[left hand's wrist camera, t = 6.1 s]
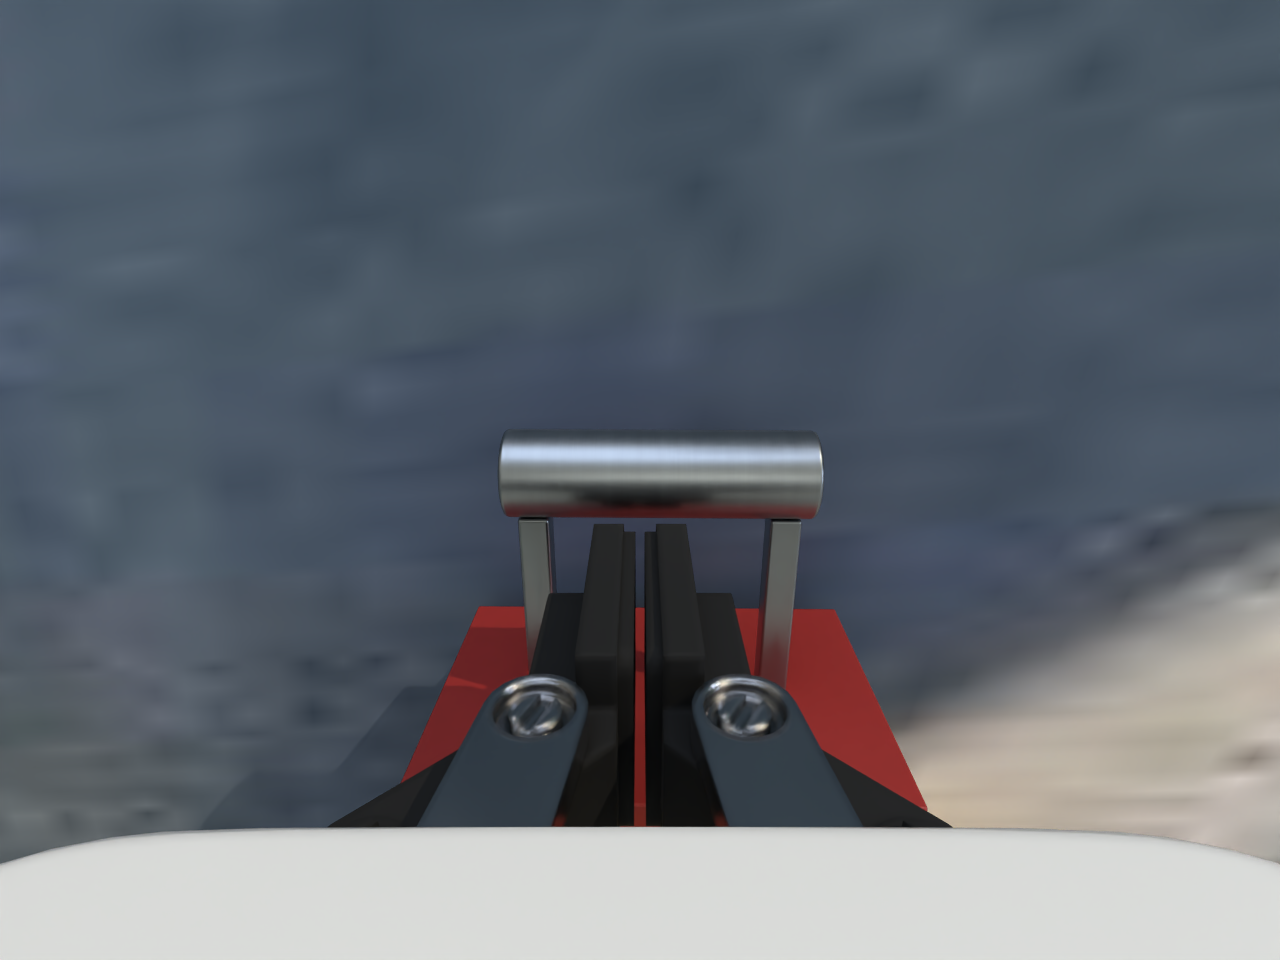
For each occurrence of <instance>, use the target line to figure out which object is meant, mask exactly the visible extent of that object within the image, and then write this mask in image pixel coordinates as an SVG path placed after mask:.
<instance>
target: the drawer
mask: <svg viewBox="0 0 1280 960" xmlns="http://www.w3.org/2000/svg"><path fill="white" fill-rule="evenodd" d="M823 487H824V461H823V452H822V447H821V443H820V440H819V437H818V435H817V434H816V433H815V432H813V431H783V430H581V429H509V430H507V431H505V433H504V435H503V437H502V440H501V444H500V449H499V457H498V490H499V498H500V503H501V506H502V509H503V512H504V514H505V515H506V516H509V517H520V518H519V520H518V528H519V542H520V557H521V571H522V585H523V599H524V607H500V606H480V607H479V608H478V610H477V612H476V614H475V617H474V619H473V621H472V623H471V626H470V628H469V630H468V632H467V635H466V637H465V639H464V641H463V644H462V646H461V648H460V651H459V653H458V655H457V657H456V660H455V662H454V664H453V666H452V669H451V671H450V673H449V675H448V678H447V680H446V682H445V684H444V687H443V689H442V691H441V693H440V696H439V698H438V700H437V702H436V705H435V707H434V709H433V711H432V714H431V716H430V718H429V720H428V723H427V725H426V727H425V729H424V732H423V734H422V736H421V738H420V741H419V743H418V745H417V748H416V750H415V752H414V754H413V757H412V759H411V761H410V763H409V766H408V768H407V770H406V772H405V775H404V777H403V779H402V781H401V783H402V782H404V781H405V780H407V779H409V778H410V777H412V776H414V775H416V774H417V773H419V772H421V771H422V770H424V769H426V768H427V767H429V766H431V765H432V764H434V763H436V762H438V761H439V760H441V759H443V758H444V757H446V756H448V755H449V754H451V753H453V752H454V751H456V750H458V749H459V747H460V746H461V744H462V742H463V740H464V738H465V736H466V735H467V733H468V731H469V729H470V727H471V725H472V723H473V722H474V720H475V718H476V716H477V714H478V712H479V710H480V709H481V707H482V705H483V703H484V701H485V700H486V699H487V698H488V696H489V695H490V694H491V693H492V691H494V690H495V689H497V688H498V687H499V686H501V685H502V684H504V683H506V682H508V681H510V680H513V679H515V678H517V677H521V676H526V675H529V672H530V668H531V664H532V660H533V656H534V651H535V647H536V643H537V639H538V635H539V631H540V626H541V622H542V618H543V614H544V610H545V606H546V601H547V598H548V595H549V594H550V593H557V589H556V569H555V549H554V529H553V517H601V518H748V519H765V532H764V546H763V559H762V573H761V586H760V600H759V609H735V610H736V614H737V618H738V622H739V626H740V631H741V635H742V639H743V643H744V647H745V651H746V656H747V660H748V664H749V668H750V672H751V675H754V676H759V677H763V678H765V679H767V680H770V681H772V682H774V683H776V684H778V685H779V686H781V687H782V688H783V689H785V690H786V691H788V693H789V694H790V695H791V696H792V698H793V699H794V700H795V701H796V703H797V705H798V707H799V709H800V710H801V712H802V714H803V716H804V718H805V720H806V722H807V723H808V725H809V727H810V729H811V731H812V733H813V735H814V736H815V738H816V740H817V742H818V744H819V746H820V747H821V749H822V750H824V751H826V752H827V753H829V754H831V755H832V756H834V757H836V758H837V759H839V760H841V761H842V762H844V763H846V764H848V765H849V766H851V767H853V768H854V769H856V770H858V771H859V772H861V773H863V774H864V775H866V776H868V777H870V778H871V779H873V780H875V781H876V782H878V783H880V784H881V785H883V786H885V787H886V788H888V789H890V790H892V791H893V792H895V793H897V794H898V795H900V796H902V797H903V798H905V799H907V800H908V801H910V802H912V803H914V804H915V805H917V806H919V807H920V808H922V809H924V810H925V811H927V806H926V804H925V802H924V800H923V797H922V795H921V793H920V791H919V789H918V787H917V785H916V783H915V780H914V778H913V776H912V774H911V772H910V770H909V768H908V765H907V763H906V761H905V759H904V757H903V755H902V753H901V751H900V748H899V746H898V744H897V742H896V740H895V738H894V736H893V733H892V731H891V729H890V727H889V725H888V723H887V721H886V719H885V716H884V714H883V712H882V710H881V708H880V706H879V704H878V701H877V699H876V697H875V695H874V693H873V691H872V689H871V687H870V684H869V682H868V680H867V678H866V676H865V674H864V672H863V669H862V667H861V665H860V663H859V661H858V659H857V657H856V654H855V652H854V650H853V648H852V646H851V644H850V642H849V640H848V637H847V635H846V633H845V631H844V629H843V627H842V625H841V622H840V620H839V618H838V616H837V614H836V612H835V610H833V609H793V608H794V598H795V587H796V577H797V566H798V556H799V545H800V535H801V524H802V523H801V520H800V519H812V518H814V517H815V516H816V515H817V513H818V511H819V508H820V505H821V501H822V495H823ZM620 827H660V826H646V790H645V685H644V608H636V685H635V790H634V826H620Z"/></svg>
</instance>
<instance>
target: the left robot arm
mask: <svg viewBox="0 0 1280 960" xmlns="http://www.w3.org/2000/svg"><path fill="white" fill-rule="evenodd" d="M635 685H636V605H635V532H624V524H594V528H593V535H592V541H591V548H590V555H589V562H588V569H587V575H586V582H585V589H584V593H550V594H549V595H548V598H547V601H546V606H545V610H544V614H543V618H542V622H541V626H540V631H539V635H538V639H537V643H536V647H535V651H534V656H533V660H532V664H531V668H530V672H529V675H526V676H521V677H517V678H515V679H513V680H510V681H508V682H506V683H504V684H502V685H501V686H499V687H498V688H497V689H495V690H494V691H492V693H491V694H490V695H489V696H488V698H487V699H486V700H485V701H484V703H483V705H482V707H481V709H480V710H479V712H478V714H477V716H476V718H475V720H474V722H473V723H472V725H471V727H470V729H469V731H468V733H467V735H466V736H465V738H464V740H463V742H462V744H461V746H460V747H459V749H458V750H456V751H454V752H453V753H451V754H449V755H448V756H446V757H444V758H443V759H441V760H439V761H438V762H436V763H434V764H432V765H431V766H429V767H427V768H426V769H424V770H422V771H421V772H419V773H417V774H416V775H414V776H412V777H410V778H409V779H407V780H405V781H404V782H402V783H400V784H399V785H397V786H395V787H394V788H392V789H390V790H388V791H387V792H385V793H383V794H382V795H380V796H378V797H377V798H375V799H373V800H372V801H370V802H368V803H366V804H365V805H363V806H361V807H360V808H358V809H356V810H355V811H353V812H351V813H350V814H348V815H346V816H345V817H343V818H341V819H339V820H338V821H336V822H334V823H333V824H331V825H330V826H328V827H327V828H252V829H225V830H198V831H172V832H157V833H148V834H139V835H130V836H121V837H111V838H106V839H101V840H96V841H90V842H85V843H80V844H75V845H70V846H64V847H59V848H54V849H50V850H47V851H43V852H40V853H36V854H33V855H29V856H26V857H22V858H19V859H15V860H12V861H8V862H5V863H1V864H0V960H1280V864H1279V863H1275V862H1272V861H1268V860H1265V859H1261V858H1258V857H1254V856H1251V855H1247V854H1244V853H1240V852H1237V851H1233V850H1230V849H1226V848H1221V847H1216V846H1210V845H1205V844H1200V843H1195V842H1189V841H1184V840H1179V839H1174V838H1169V837H1159V836H1150V835H1141V834H1132V833H1123V832H1108V831H1082V830H1055V829H1028V828H953V827H952V826H950V825H949V824H947V823H946V822H944V821H942V820H941V819H939V818H937V817H935V816H934V815H932V814H930V813H929V812H927V811H925V810H924V809H922V808H920V807H919V806H917V805H915V804H914V803H912V802H910V801H908V800H907V799H905V798H903V797H902V796H900V795H898V794H897V793H895V792H893V791H892V790H890V789H888V788H886V787H885V786H883V785H881V784H880V783H878V782H876V781H875V780H873V779H871V778H870V777H868V776H866V775H864V774H863V773H861V772H859V771H858V770H856V769H854V768H853V767H851V766H849V765H848V764H846V763H844V762H842V761H841V760H839V759H837V758H836V757H834V756H832V755H831V754H829V753H827V752H826V751H824V750H822V749H821V747H820V746H819V744H818V742H817V740H816V738H815V736H814V735H813V733H812V731H811V729H810V727H809V725H808V723H807V722H806V720H805V718H804V716H803V714H802V712H801V710H800V709H799V707H798V705H797V703H796V701H795V700H794V699H793V698H792V696H791V695H790V694H789V693H788V691H786V690H785V689H783V688H782V687H781V686H779V685H778V684H776V683H774V682H772V681H770V680H767V679H765V678H763V677H759V676H754V675H751V672H750V668H749V664H748V660H747V656H746V651H745V647H744V643H743V639H742V635H741V631H740V626H739V622H738V618H737V614H736V610H735V606H734V601H733V598H732V595H731V594H730V593H696V589H695V582H694V575H693V569H692V562H691V555H690V548H689V541H688V535H687V528H686V524H656V532H645V605H644V685H645V790H646V826H660V827H620V826H634V790H635Z"/></svg>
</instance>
